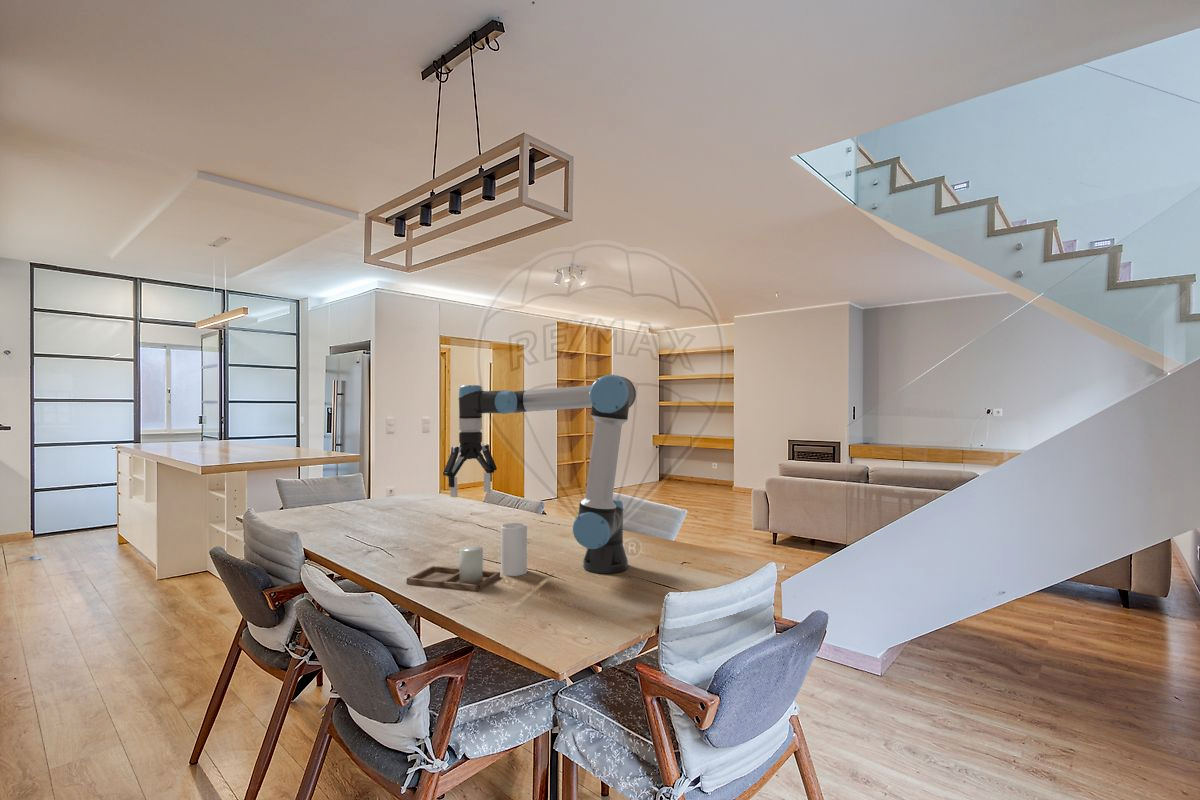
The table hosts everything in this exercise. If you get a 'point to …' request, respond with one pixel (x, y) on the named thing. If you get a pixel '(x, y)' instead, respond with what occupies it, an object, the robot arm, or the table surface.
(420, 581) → the caddy
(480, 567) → the pale green rounded cylinder
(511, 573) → the cup
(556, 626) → the table surface
